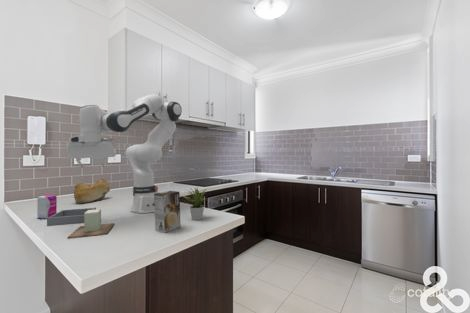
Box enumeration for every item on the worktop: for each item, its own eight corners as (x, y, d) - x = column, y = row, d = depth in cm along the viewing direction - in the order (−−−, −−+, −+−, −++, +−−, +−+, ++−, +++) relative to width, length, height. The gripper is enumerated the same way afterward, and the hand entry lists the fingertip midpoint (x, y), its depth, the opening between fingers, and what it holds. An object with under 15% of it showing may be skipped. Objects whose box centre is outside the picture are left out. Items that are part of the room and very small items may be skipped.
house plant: (199, 212, 124) (199, 183, 124) (217, 217, 115) (217, 185, 115) (178, 218, 113) (177, 186, 113) (196, 224, 104) (196, 189, 104)
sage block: (101, 226, 100) (101, 209, 100) (98, 230, 95) (97, 211, 95) (88, 228, 98) (88, 210, 98) (84, 231, 94) (84, 213, 93)
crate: (96, 213, 124) (96, 207, 124) (86, 222, 109) (86, 215, 109) (62, 216, 119) (62, 210, 119) (47, 225, 104) (46, 218, 104)
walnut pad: (114, 224, 105) (114, 222, 105) (107, 234, 92) (107, 232, 92) (80, 227, 101) (80, 226, 101) (67, 238, 88) (67, 237, 88)
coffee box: (170, 224, 104) (170, 190, 104) (180, 227, 100) (180, 191, 100) (154, 230, 96) (153, 193, 96) (164, 233, 93) (163, 194, 92)
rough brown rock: (99, 197, 175) (97, 178, 175) (113, 197, 167) (111, 177, 167) (66, 205, 154) (64, 183, 154) (80, 205, 147) (77, 182, 147)
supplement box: (46, 219, 115) (45, 197, 115) (37, 218, 116) (36, 196, 116) (57, 216, 121) (56, 195, 120) (48, 215, 122) (47, 194, 122)
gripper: (116, 138, 114) (118, 165, 115) (69, 139, 108) (71, 167, 108) (114, 138, 108) (115, 166, 109) (64, 138, 102) (65, 168, 102)
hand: (93, 167), depth 108 cm, fingers open, 8 cm apart
